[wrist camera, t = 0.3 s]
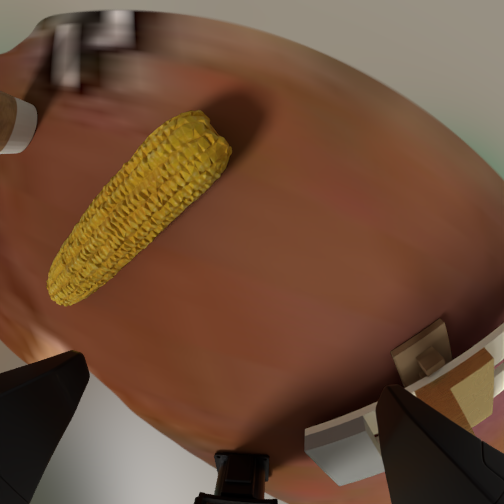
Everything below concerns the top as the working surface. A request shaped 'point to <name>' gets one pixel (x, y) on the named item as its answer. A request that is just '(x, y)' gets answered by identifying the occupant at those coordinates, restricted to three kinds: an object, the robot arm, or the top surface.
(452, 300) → the top surface
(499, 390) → the white twin rails
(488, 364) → the block
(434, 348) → the beam stand
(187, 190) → the food
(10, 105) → the coffee cup
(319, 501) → the top surface
